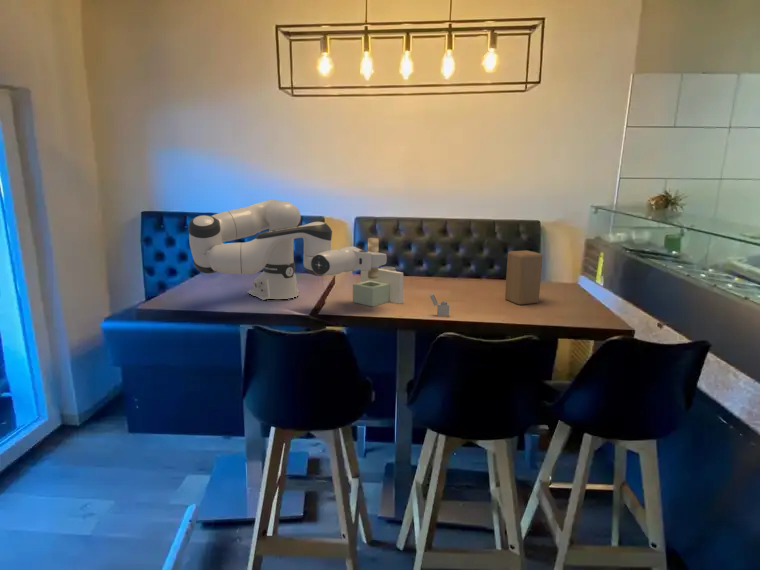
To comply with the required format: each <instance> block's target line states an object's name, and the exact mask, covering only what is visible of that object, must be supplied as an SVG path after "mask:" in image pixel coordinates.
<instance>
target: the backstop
mask: <svg viewBox="0 0 760 570" xmlns="http://www.w3.org/2000/svg"><path fill="white" fill-rule="evenodd" d="M396 271H397V270H396ZM396 271H390V270H384V269H380V268H379V267H378V278H377V279H370V278H368V270H360V283H361V282H365V281H369V280H371V281H377V282H382V283H387V284H389V302H390V303H395V304H402V303H403V302H404V272H403V271H402V272H401V271H397V272H396Z"/></svg>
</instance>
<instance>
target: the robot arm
mask: <svg viewBox="0 0 760 570" xmlns="http://www.w3.org/2000/svg"><path fill="white" fill-rule="evenodd" d="M301 216H302V215H301V212H300V210H299V208H298V207H297V206H295V204H294V203H292V202H291V201H290V202H289V201H286V200H285V201H283V200H276V199H268V200H265V201H263V200H262V201H261V202H257V203H254V204H251V205H248V206H244V207H241V208H234V209H230V210H225V211H222V212H218V213H215V214H213V215H208V214H200V215H197V216H195V217H193V218H192V219H191V220H190V221H189V223H188V227H187V228H188V231H187V232H188V233H189V234H188V240H189V242H188V243H189V247H190V252H191V255H192V262H193V265H194V268H196V270H197V271H199V272H200V273H203V274H214V273H217V272H218V273H222V274H230V275H252V274H257V273H259V272H261V271H262V272H261V273H260V274H259V275H258V276H257V277H255V278H254V279H253V287H252V289H249V290H248V291H247V293H250V294H252V295H255V296H257V297H259V298H262V299H288V298H293V299H295V298H294V297H296V298H298V297H299V296H300V295H299V294H300V289H298V282H297V275H296V273H295V271H296V265H295V264H296V262H295V261H294V243H295V242H294V241H295V239H302V240H303V255H302V256H303V268H304V269H305V270H306V272H308V273H309V274H310V275H312V276H315V277H325V276H326V277H327V276H337V275H340V274H342V273H350V272H356V271H361V270H371V268H374V267H378V268H379V267H383V266H384V265H386V264H387V263H388V262H387V261H388V260H387V259H388V257H387V254H386V253H382V252H379V253H376V252H369V251H368V250H363V249H360V248H358V247H356V246H353V245H350V246H344V247H340V248H338V249H337V248H333V249H332V238H333V230H332V228H331V227H330V226H329V225H328V224H327V223H326V222H324V221H313V222H310V223H306V224H301V225H299V223H300V222H301V218H302V217H301ZM265 230H268V231H265ZM262 231H263V232H262ZM255 235H256V237H255V238H254V239H252V240H249V241H246V242H232V241H235V240H240V239H244V238H247V237H251V236H255ZM230 241H231V242H230ZM226 242H229V243H226ZM298 295H299V296H298ZM297 296H298V297H297ZM288 300H289V299H288Z"/></svg>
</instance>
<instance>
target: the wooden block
mask: <svg viewBox="0 0 760 570" xmlns="http://www.w3.org/2000/svg"><path fill="white" fill-rule="evenodd" d="M543 257H544V256H543V254H542V253H539V252H535V251H532V250H525V249H524V250H511V251H508V253H507V263H506V277H505V292H504V298H505V300H507V301H508V302H511V303H513V304H517V305H519V306H521V305H530V304H537V303H539V302H540V292H541V291H540V290H541V280H542V279H541V278H542V265H543Z"/></svg>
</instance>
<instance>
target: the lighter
mask: <svg viewBox="0 0 760 570" xmlns="http://www.w3.org/2000/svg"><path fill="white" fill-rule="evenodd" d="M429 298H430V299H431V302H432V304H433V306H434V307H435V306H437V310H436V311H437V314H436V316H437V317H444V316H449V317H450V304H449V303H448V302H447V301H445V300H444V301H440V303H438V300H437V298H436V296H435V294H434V293H431V294H429Z"/></svg>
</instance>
